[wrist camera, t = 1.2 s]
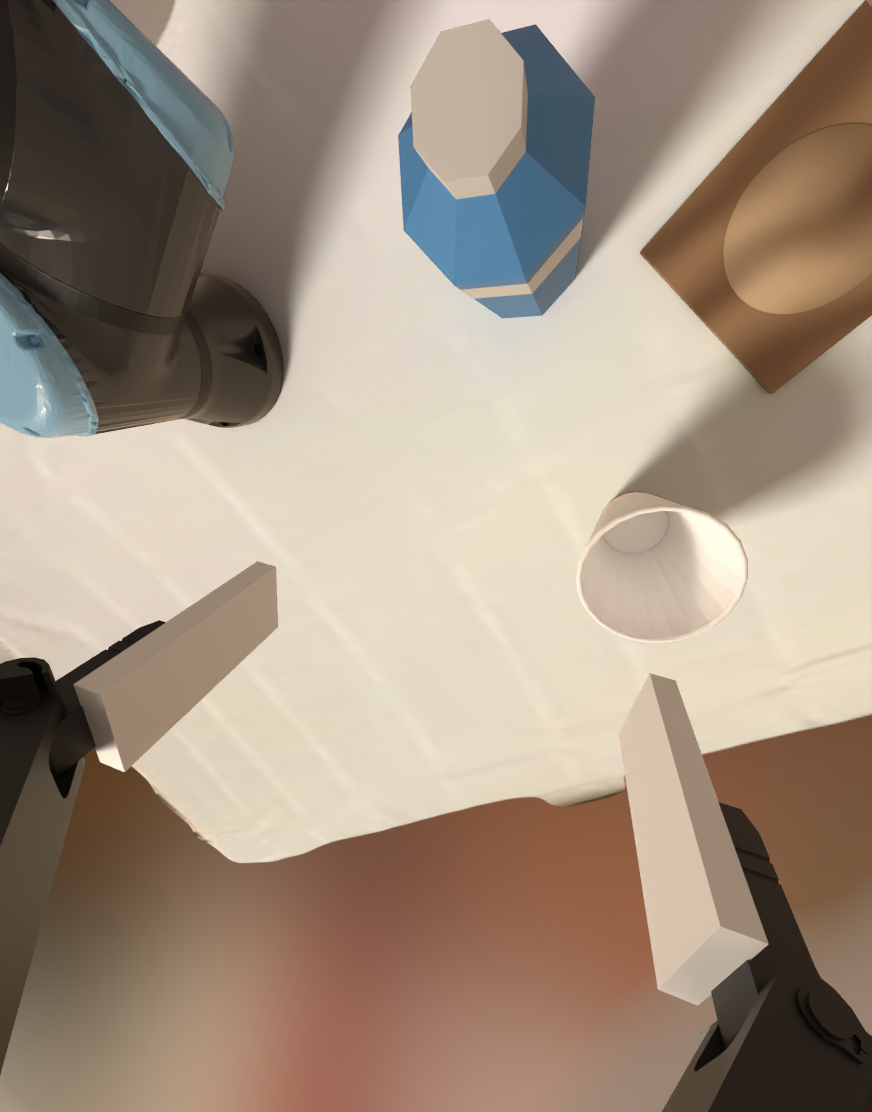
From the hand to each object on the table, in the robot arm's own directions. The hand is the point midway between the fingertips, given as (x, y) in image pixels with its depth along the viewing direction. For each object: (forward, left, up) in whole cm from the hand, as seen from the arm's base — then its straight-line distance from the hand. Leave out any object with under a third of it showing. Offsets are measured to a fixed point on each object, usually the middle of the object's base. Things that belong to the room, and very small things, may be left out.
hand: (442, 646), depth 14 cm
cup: (+13, +3, -33) cm, 35 cm away
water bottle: (-12, +12, -33) cm, 37 cm away
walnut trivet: (+3, +26, -33) cm, 42 cm away
